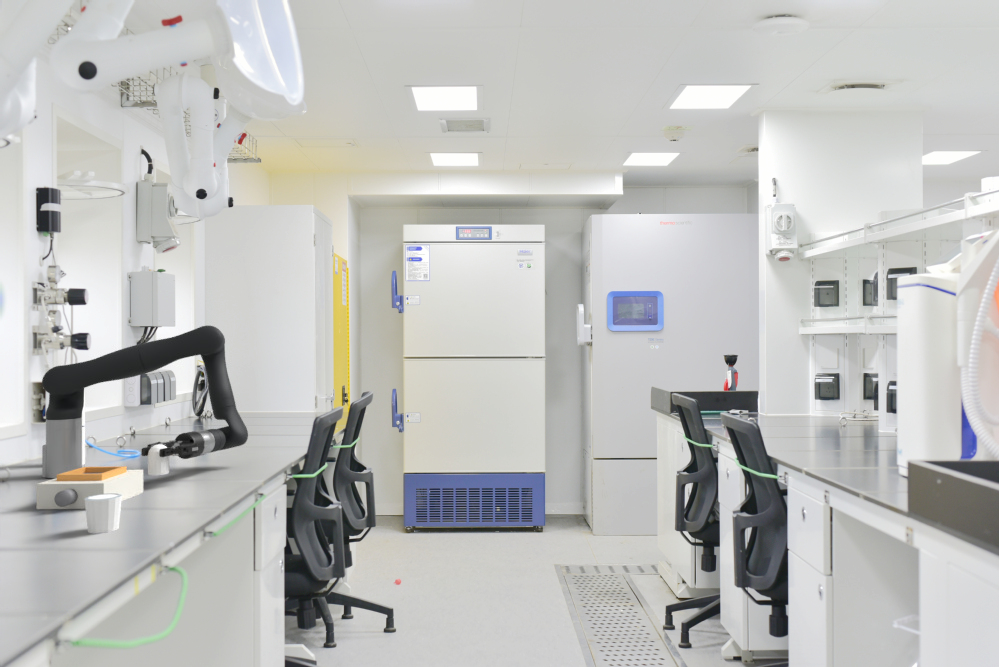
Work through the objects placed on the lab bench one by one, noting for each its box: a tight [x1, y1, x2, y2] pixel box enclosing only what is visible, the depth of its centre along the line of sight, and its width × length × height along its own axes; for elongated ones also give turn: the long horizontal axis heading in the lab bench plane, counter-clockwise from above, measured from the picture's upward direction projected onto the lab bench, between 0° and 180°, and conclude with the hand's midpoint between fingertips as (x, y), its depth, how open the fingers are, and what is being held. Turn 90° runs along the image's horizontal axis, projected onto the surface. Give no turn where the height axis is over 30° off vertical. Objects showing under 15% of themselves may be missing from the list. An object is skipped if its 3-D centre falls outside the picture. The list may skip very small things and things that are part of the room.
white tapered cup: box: [85, 493, 123, 534], centre depth 144 cm, size 7×7×7 cm
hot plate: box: [36, 466, 144, 510], centre depth 170 cm, size 16×21×8 cm
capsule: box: [147, 444, 170, 476], centre depth 188 cm, size 5×5×8 cm
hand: (151, 452), depth 185 cm, fingers closed on capsule, 5 cm apart
